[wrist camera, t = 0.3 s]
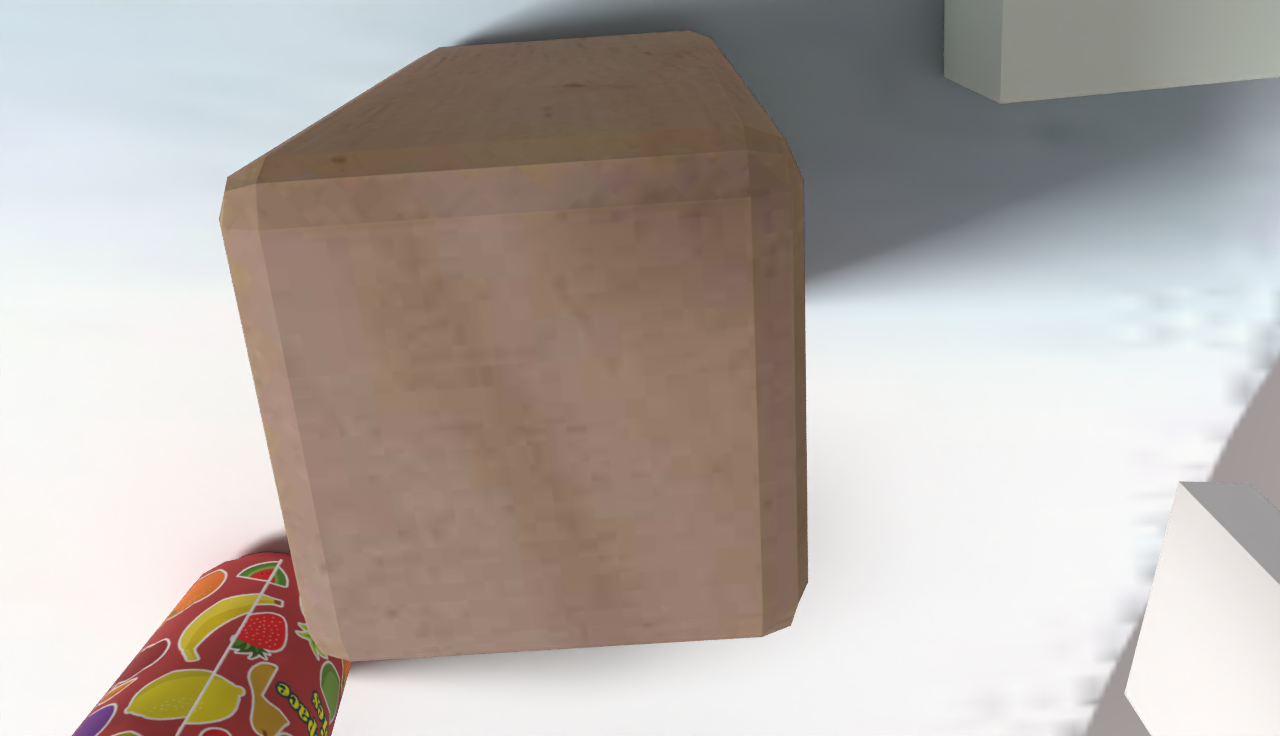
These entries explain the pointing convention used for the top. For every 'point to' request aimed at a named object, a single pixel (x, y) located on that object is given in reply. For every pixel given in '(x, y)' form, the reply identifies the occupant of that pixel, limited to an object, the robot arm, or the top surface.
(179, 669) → the smoothie
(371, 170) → the wooden block
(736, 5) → the top surface
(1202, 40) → the socket block
